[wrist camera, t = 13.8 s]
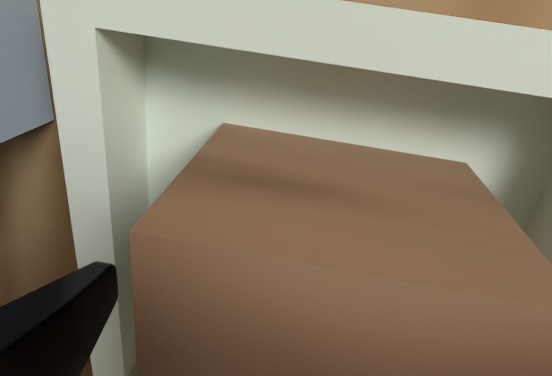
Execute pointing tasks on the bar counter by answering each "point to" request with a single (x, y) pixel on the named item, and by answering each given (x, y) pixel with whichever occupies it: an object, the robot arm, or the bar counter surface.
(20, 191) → the bar counter surface
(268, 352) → the walnut block
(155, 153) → the tray
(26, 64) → the bored block
